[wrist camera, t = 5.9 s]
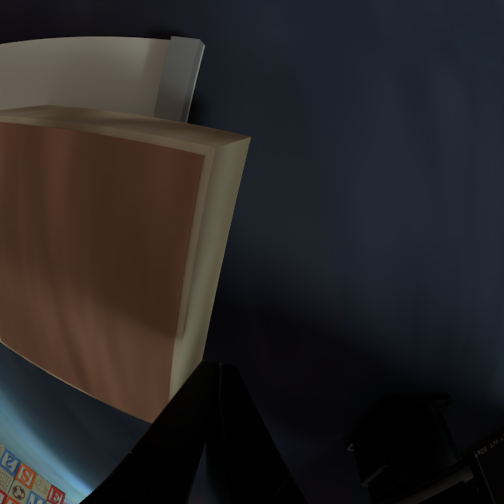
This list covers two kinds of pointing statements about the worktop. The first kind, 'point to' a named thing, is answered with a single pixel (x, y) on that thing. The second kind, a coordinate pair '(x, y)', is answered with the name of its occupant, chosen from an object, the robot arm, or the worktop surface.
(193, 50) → the mat
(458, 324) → the worktop surface
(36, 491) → the stack of blocks
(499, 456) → the protein powder
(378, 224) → the worktop surface
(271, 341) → the worktop surface
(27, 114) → the cream wood-panel box
